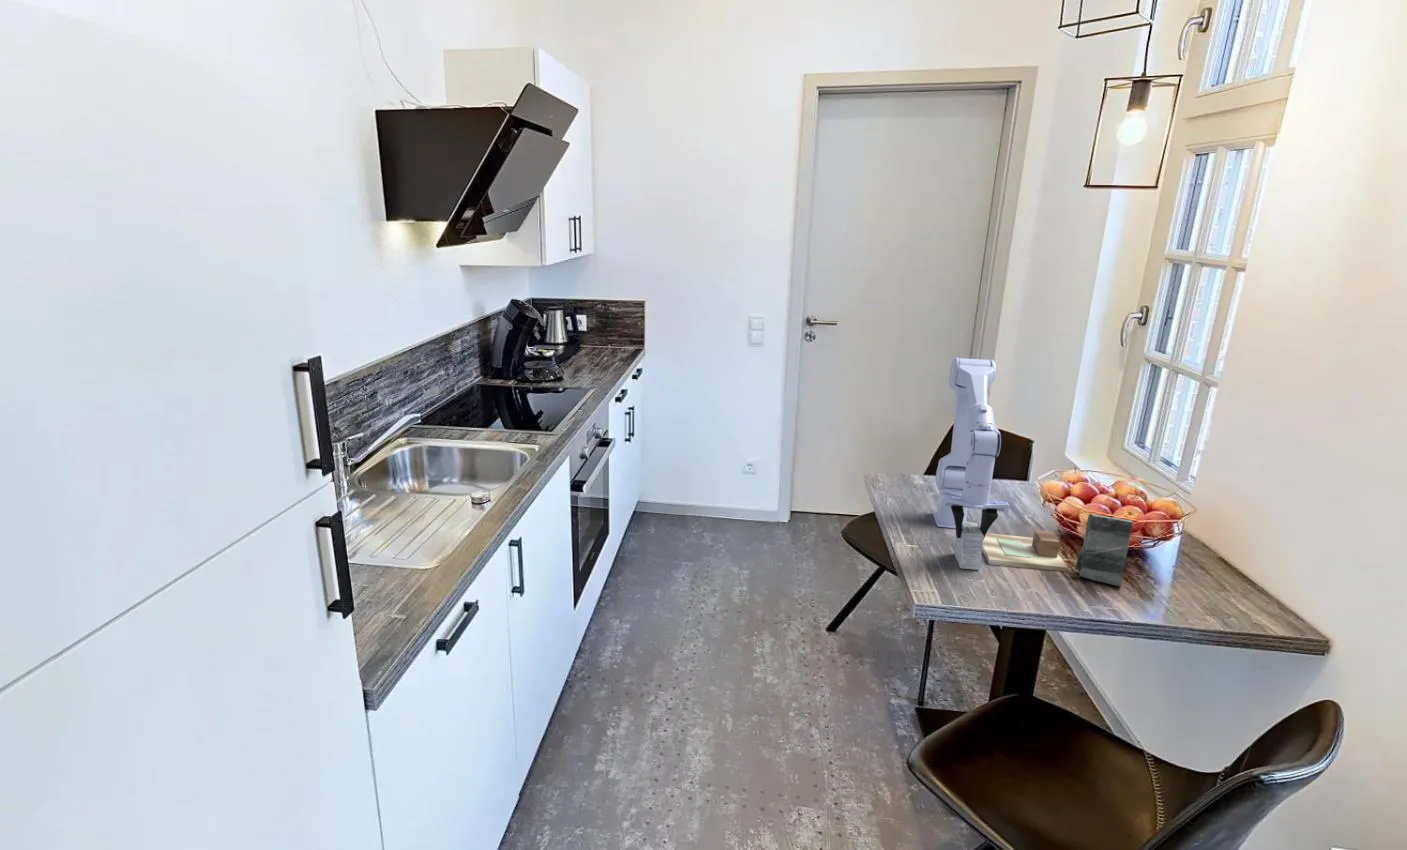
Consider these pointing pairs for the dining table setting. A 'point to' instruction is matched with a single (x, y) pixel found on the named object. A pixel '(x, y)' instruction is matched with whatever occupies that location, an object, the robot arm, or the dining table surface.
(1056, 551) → the walnut block
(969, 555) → the medicine box
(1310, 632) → the dining table surface
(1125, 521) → the stone block
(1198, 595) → the dining table surface
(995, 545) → the base board
